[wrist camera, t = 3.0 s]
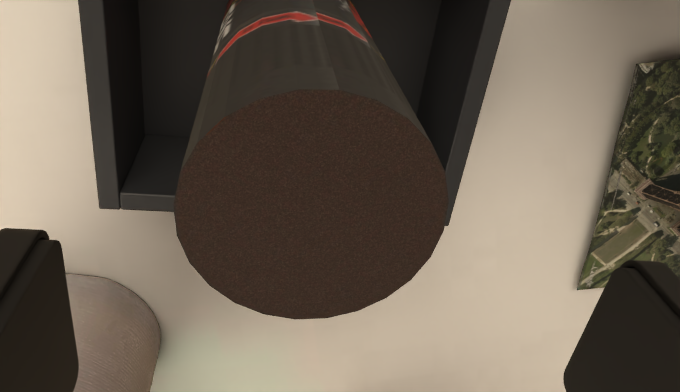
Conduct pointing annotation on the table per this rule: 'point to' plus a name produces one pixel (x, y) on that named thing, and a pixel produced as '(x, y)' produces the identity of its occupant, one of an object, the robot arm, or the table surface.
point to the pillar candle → (112, 336)
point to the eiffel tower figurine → (641, 180)
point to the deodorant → (306, 166)
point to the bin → (194, 62)
